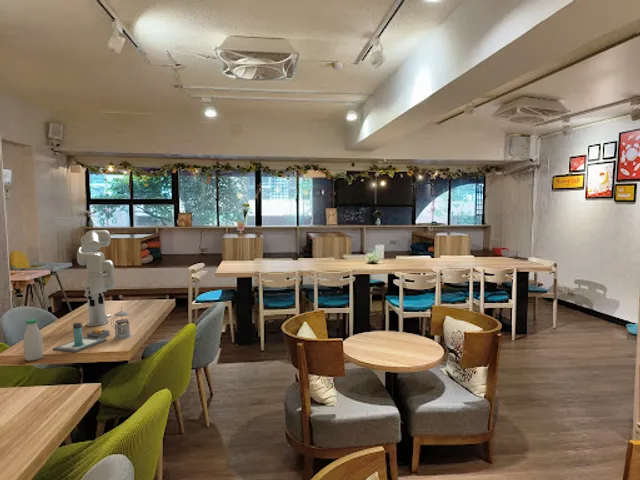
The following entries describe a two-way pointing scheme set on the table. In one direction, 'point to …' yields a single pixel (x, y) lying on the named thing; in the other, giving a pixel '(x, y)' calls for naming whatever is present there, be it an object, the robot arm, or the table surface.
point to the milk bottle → (33, 341)
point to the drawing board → (86, 344)
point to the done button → (97, 331)
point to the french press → (121, 326)
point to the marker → (77, 334)
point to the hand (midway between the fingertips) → (96, 304)
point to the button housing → (100, 335)
